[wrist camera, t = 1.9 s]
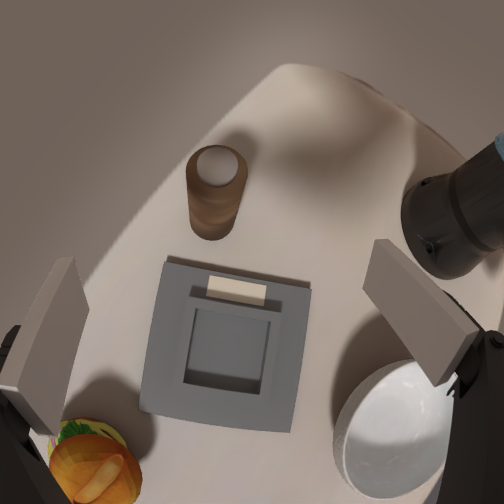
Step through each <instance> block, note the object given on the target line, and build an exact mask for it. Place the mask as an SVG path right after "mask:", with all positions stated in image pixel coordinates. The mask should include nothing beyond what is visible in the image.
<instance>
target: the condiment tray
mask: <svg viewBox="0 0 504 504" xmlns="http://www.w3.org/2000/svg"><path fill="white" fill-rule="evenodd" d="M311 291H312V289H309V288H303V287H297V286H291V285H286V284H280V283H275V282H269V281H263V280H258V279H253V278H247V277H242V276H236V275H231V274H226V273H221V272H215V271H210V270H205V269H200V268H195V267H190V266H185V265H180V264H175V263H170V262H165V261H164V265H163V269H162V274H161V278H160V283H159V288H158V292H157V297H156V302H155V307H154V312H153V318H152V323H151V328H150V334H149V340H148V345H147V351H146V357H145V364H144V370H143V377H142V384H141V391H140V398H139V406H138V410H140V411H144V412H148V413H152V414H156V415H161V416H166V417H170V418H175V419H180V420H186V421H191V422H197V423H203V424H209V425H216V426H223V427H231V428H239V429H248V430H259V431H271V432H286V433H290V429H291V424H292V419H293V413H294V408H295V402H296V396H297V390H298V384H299V378H300V372H301V365H302V358H303V352H304V345H305V338H306V330H307V323H308V315H309V307H310V299H311Z"/></svg>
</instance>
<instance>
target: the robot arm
mask: <svg viewBox="0 0 504 504" xmlns="http://www.w3.org/2000/svg"><path fill="white" fill-rule="evenodd" d="M401 219H402V227H403V232H404V235H405V239H406V241H407V244H408V246H409V248H410V250H411V252H412V254H413V256H414V257H415V259H416V260H417V261H418V263H419V264H420V265H421V266H422V267H423V268H424V269H425V270H426V271H427V272H428V273H430V274H431V275H433V276H435V277H437V278H439V279H443V280H451V279H455V278H458V277H461V276H464V275H466V274H467V273H469V272H470V271H471V270H472V269H473V268H474V267H475V266H477V265H478V264H479V263H480V262H481V261H482V260H483V259H484V258H485V257H486V256H487V255H488V254H489V253H490V252H492V251H495V250H497V249H500V248H504V133H500V134H498V135H497V136H496V138H495V141H494V142H492V143H491V144H490V145H488V146H487V147H486V148H484V149H483V150H482V151H480V152H479V153H478V154H476V155H475V156H474V157H473V158H471V159H470V160H468V161H467V162H466V163H464V164H463V165H462V166H460V167H459V168H458V169H456V170H455V171H454V172H451V173H447V174H442V175H438V176H433V177H429V178H426V179H423V180H421V181H420V182H418V183H417V184H416V185H415V186H413V187H412V188H411V189H410V190H409V191H408V192H407V194H406V196H405V198H404V200H403V204H402V211H401ZM362 289H363V290H364V291H365V292H366V294H367V295H368V296H369V298H370V299H371V300H372V302H373V303H374V304H375V306H376V307H377V308H378V309H379V311H380V312H381V313H382V315H383V316H384V317H385V319H386V320H387V322H388V323H389V324H390V326H391V327H392V328H393V330H394V331H395V332H396V334H397V335H398V337H399V338H400V339H401V341H402V342H403V343H404V345H405V346H406V348H407V349H408V350H409V352H410V353H411V355H412V356H413V358H414V359H415V360H416V362H417V363H418V365H419V366H420V368H421V369H422V370H423V372H424V373H425V375H426V376H427V378H428V379H429V381H430V382H431V384H432V385H433V387H434V388H435V387H437V386H439V385H442V384H444V383H446V382H448V381H449V379H450V378H451V376H452V375H453V373H454V372H456V374H457V375H458V377H457V379H456V380H455V382H454V383H453V384H452V386H451V387H450V389H449V390H448V391H447V394H446V396H449V395H450V393H451V392H452V391H453V390H454V394H453V395H452V397H453V398H454V401H453V412H452V422H451V430H450V438H449V445H448V451H447V457H446V463H445V468H444V473H443V478H442V483H441V487H440V491H439V496H438V500H437V503H436V504H504V336H503V335H502V334H501V333H499V332H497V331H493V330H490V331H487V332H486V331H485V330H484V329H483V328H482V327H481V326H480V325H479V324H478V323H477V322H476V321H475V319H474V318H473V317H472V316H471V315H470V314H469V313H468V312H467V311H465V310H464V308H463V307H462V306H461V305H459V303H458V302H457V301H456V300H455V299H454V298H453V297H452V296H451V295H450V294H448V293H447V292H445V291H444V290H442V289H441V288H440V287H439V286H437V285H436V284H435V283H434V282H433V281H432V280H431V279H430V278H429V277H428V276H427V275H426V274H425V273H424V272H423V271H422V270H421V269H420V268H419V267H418V266H417V265H416V264H415V263H414V262H413V261H412V260H410V259H409V258H408V257H407V256H406V255H405V254H404V253H403V252H402V251H401V250H400V249H399V248H397V247H396V246H395V245H394V244H393V243H392V242H391V241H390V240H389V239H378V240H375V242H374V246H373V250H372V254H371V258H370V262H369V266H368V270H367V274H366V277H365V281H364V285H363V288H362ZM89 310H90V309H89V306H88V303H87V300H86V297H85V293H84V290H83V287H82V283H81V280H80V276H79V273H78V269H77V265H76V261H75V258H74V257H63V258H58V260H57V261H56V263H55V265H54V266H53V268H52V270H51V271H50V273H49V275H48V277H47V278H46V280H45V282H44V284H43V285H42V287H41V289H40V291H39V293H38V294H37V296H36V298H35V300H34V302H33V304H32V306H31V308H30V310H29V311H28V313H27V315H26V317H25V319H24V321H23V323H22V325H15V326H14V327H13V328H12V329H11V330H10V331H9V332H8V333H7V334H6V336H5V338H4V340H3V342H2V344H1V348H0V504H72V503H71V501H70V500H69V498H68V497H67V496H66V494H65V493H64V491H63V490H62V488H61V487H60V485H59V484H58V482H57V481H56V479H55V478H54V476H53V475H52V473H51V471H50V470H49V468H48V466H47V465H46V463H45V461H44V460H43V458H42V456H41V455H40V453H39V451H38V449H37V447H36V446H35V444H34V442H33V440H32V439H31V438H30V436H29V431H30V427H31V428H32V429H33V430H34V431H35V432H36V433H37V434H38V436H44V437H50V438H57V439H58V433H59V427H60V422H61V417H62V412H63V407H64V402H65V397H66V393H67V388H68V384H69V380H70V376H71V372H72V368H73V364H74V360H75V356H76V353H77V349H78V346H79V342H80V339H81V335H82V332H83V329H84V325H85V322H86V319H87V316H88V313H89Z"/></svg>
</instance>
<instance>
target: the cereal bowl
mask: <svg viewBox="0 0 504 504" xmlns="http://www.w3.org/2000/svg"><path fill="white" fill-rule="evenodd" d="M456 379H457V377H456V375H455V374H454V373H453V375H452V376H451V378H450V379H449V381H448V382H446V383H444V384H442V385H439V386H437V387H435V388H434V387H433V385H432V384H431V382H430V381H429V379H428V378H427V376H426V375H425V373H424V372H423V370H422V369H421V368H420V366H419V365H418V363H417V362H416V360H415V359H408V360H402V361H397V362H394V363H391V364H389V365H386V366H384V367H382V368H380V369H378V370H377V371H375V372H373V373H372V374H371V375H369V376H368V377H367V378H366V379H365V380H364V381H362V382H361V383H360V384H359V385H358V387H357V388H355V390H354V391H353V392H352V394H351V395H350V396H349V398H348V399H347V401H346V402H345V404H344V406H343V408H342V410H341V411H340V414H339V416H338V419H337V422H336V425H335V428H334V434H333V456H334V459H335V464H336V466H337V469H338V470H339V473H340V474H341V476H342V478H343V479H344V480H345V481H346V483H348V485H349V486H350V487H352V489H353V490H355V491H356V492H357V493H358V494H360V495H362V496H364V497H367V498H370V499H375V500H389V499H395V498H398V497H402V496H404V495H407V494H409V493H411V492H413V491H415V490H417V489H418V488H420V487H421V486H423V485H424V484H425V483H427V482H428V481H429V480H430V479H431V478H432V477H433V476H434V475H435V474H436V473H437V472H438V471H439V470H440V469H441V468H442V467H443V465H444V464H445V463H446V457H447V451H448V445H449V438H450V430H451V422H452V412H453V401H454V398H453V397H452V395H453V394H454V390H453V391H452V392H451V393H450V395H449V396H446V394H447V391H448V390H449V389H450V387H451V386H452V384H453V383H454V382H455V380H456Z"/></svg>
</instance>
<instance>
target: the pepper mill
mask: <svg viewBox="0 0 504 504" xmlns="http://www.w3.org/2000/svg"><path fill="white" fill-rule="evenodd" d="M247 175H248V169H247V165H246V162H245V160H244V159H243V157H242V156H241V155H240V154H239V153H238V152H237V151H235V150H234V149H232V148H229V147H226V146H222V145H211V146H207V147H204V148H201V149H199V150H198V151H196V152H195V153H194V154H193V155H192V156H191V157H190V159H189V161H188V163H187V166H186V180H187V193H188V205H189V216H190V224H191V227H192V229H193V231H194V232H195V234H196V235H198V236H199V237H201V238H202V239H205V240H210V241H214V240H219V239H222V238H224V237H225V236H227V235H228V234H229V233H230V231H231V230H232V228H233V225H234V222H235V218H236V214H237V211H238V207H239V204H240V200H241V197H242V193H243V190H244V186H245V183H246V179H247Z"/></svg>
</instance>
